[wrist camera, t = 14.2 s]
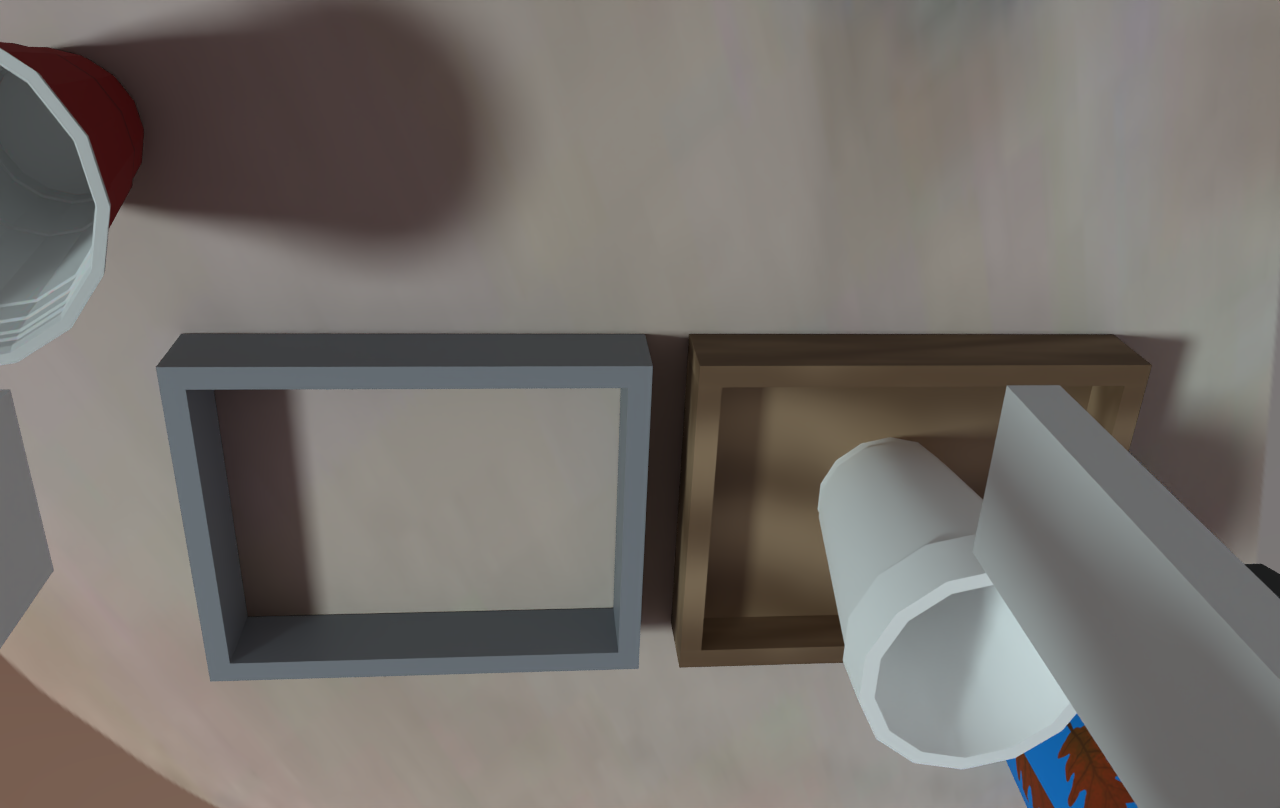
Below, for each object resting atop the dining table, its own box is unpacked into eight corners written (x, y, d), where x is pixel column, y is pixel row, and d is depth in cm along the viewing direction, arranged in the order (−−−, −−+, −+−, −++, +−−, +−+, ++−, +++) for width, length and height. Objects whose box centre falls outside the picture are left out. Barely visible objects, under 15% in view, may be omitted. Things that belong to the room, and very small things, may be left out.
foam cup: (998, 531, 54) (1127, 714, 42) (825, 603, 55) (905, 800, 43) (944, 376, 49) (1071, 530, 38) (758, 456, 50) (826, 631, 39)
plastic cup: (196, -20, 40) (75, 19, 30) (225, 257, 45) (130, 377, 34) (-115, -39, 39) (-358, -6, 28) (-52, 247, 44) (-240, 369, 33)
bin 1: (181, 333, 46) (155, 367, 43) (644, 334, 48) (652, 366, 45) (229, 633, 53) (210, 681, 50) (632, 623, 55) (638, 668, 52)
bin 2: (689, 334, 48) (699, 366, 45) (1113, 334, 50) (1151, 365, 47) (671, 622, 56) (679, 667, 52) (1044, 613, 57) (1073, 655, 54)
